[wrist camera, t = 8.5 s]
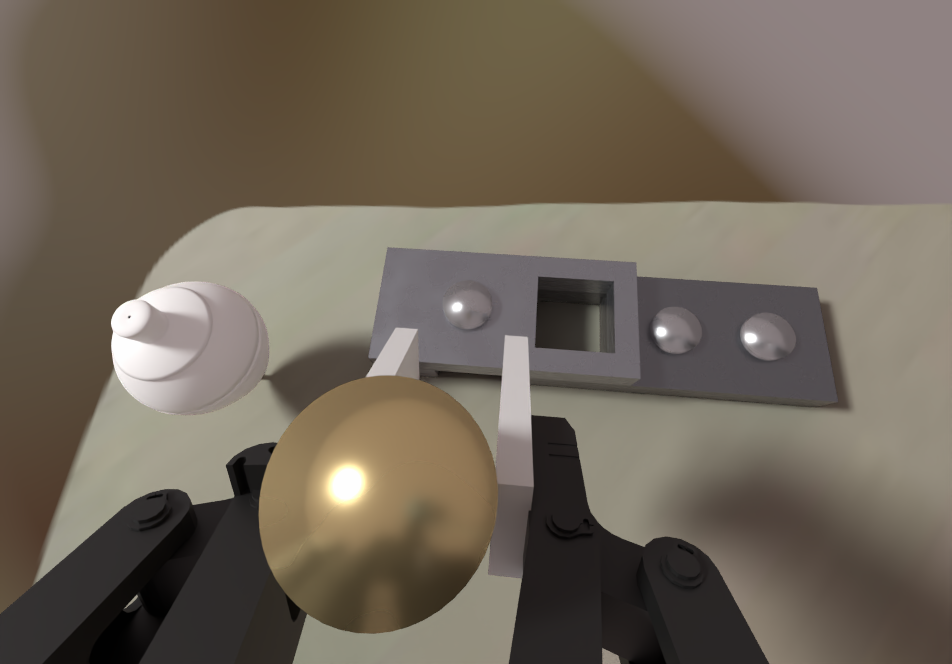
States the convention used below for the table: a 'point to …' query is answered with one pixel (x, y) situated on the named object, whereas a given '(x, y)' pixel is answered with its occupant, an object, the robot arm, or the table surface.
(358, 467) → the brass link pin
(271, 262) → the table surface
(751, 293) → the lower chain end
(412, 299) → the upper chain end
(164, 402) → the spinning top
